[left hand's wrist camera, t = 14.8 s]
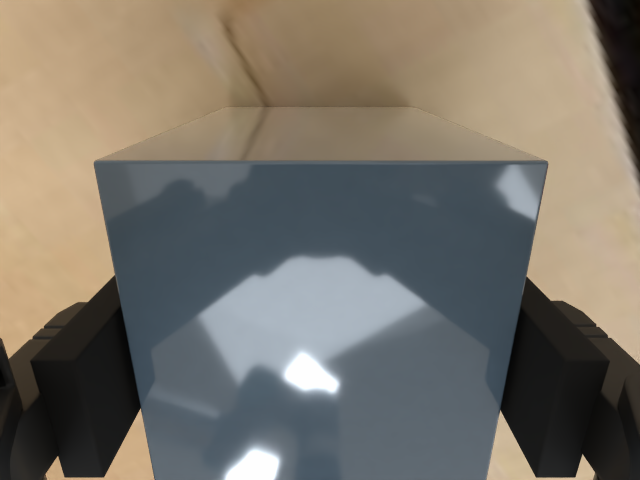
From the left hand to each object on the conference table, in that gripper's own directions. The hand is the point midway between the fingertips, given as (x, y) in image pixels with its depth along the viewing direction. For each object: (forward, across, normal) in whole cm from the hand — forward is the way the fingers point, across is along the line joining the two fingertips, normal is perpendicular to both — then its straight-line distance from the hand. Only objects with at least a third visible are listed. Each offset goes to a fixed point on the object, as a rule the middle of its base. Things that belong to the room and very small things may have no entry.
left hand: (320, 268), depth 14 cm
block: (+6, 0, 0) cm, 6 cm away
